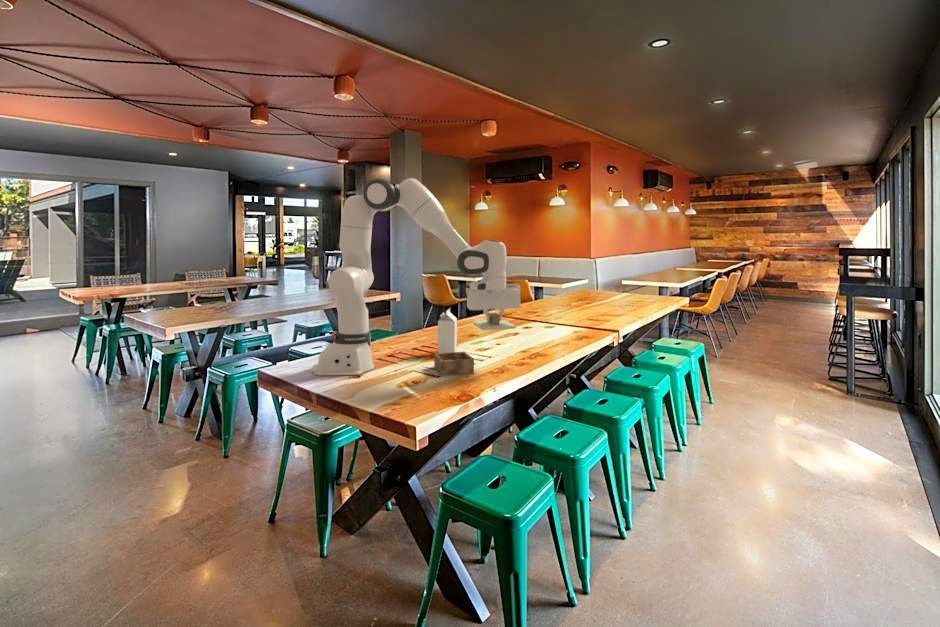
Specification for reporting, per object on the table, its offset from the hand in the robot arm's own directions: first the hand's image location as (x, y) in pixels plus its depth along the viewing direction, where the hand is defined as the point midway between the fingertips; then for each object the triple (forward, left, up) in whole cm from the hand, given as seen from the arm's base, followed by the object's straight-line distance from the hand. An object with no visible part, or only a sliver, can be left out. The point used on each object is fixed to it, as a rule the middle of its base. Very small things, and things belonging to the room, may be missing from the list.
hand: (493, 321), depth 182 cm
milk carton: (-11, +27, -19) cm, 35 cm away
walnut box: (-15, +1, -19) cm, 24 cm away
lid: (0, 0, -2) cm, 2 cm away
